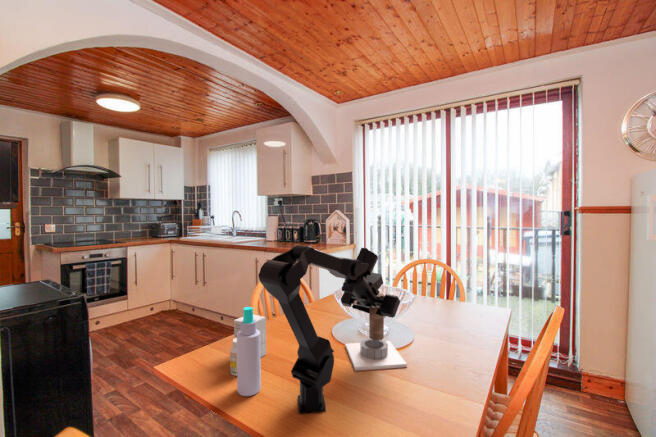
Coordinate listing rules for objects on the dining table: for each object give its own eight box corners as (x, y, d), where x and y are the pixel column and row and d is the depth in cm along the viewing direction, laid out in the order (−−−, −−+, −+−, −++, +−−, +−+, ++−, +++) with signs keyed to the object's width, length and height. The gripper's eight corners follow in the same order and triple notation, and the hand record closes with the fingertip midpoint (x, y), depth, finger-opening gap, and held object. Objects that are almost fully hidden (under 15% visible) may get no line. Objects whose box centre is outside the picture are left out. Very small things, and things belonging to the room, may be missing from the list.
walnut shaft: (386, 337, 99) (386, 294, 98) (376, 341, 96) (376, 297, 95) (376, 333, 102) (376, 291, 102) (366, 336, 100) (366, 294, 99)
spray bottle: (261, 382, 85) (260, 304, 84) (259, 396, 79) (259, 311, 78) (239, 384, 84) (238, 305, 83) (235, 398, 78) (234, 312, 77)
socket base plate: (406, 367, 93) (406, 354, 93) (355, 370, 91) (355, 357, 91) (389, 343, 109) (389, 332, 109) (345, 346, 107) (345, 335, 107)
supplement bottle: (228, 376, 88) (227, 343, 87) (232, 367, 93) (232, 336, 93) (247, 375, 88) (247, 343, 88) (250, 366, 93) (250, 335, 93)
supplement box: (250, 349, 105) (250, 312, 104) (266, 354, 101) (266, 316, 100) (233, 358, 99) (233, 319, 98) (250, 364, 95) (249, 324, 94)
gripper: (397, 269, 89) (413, 298, 98) (346, 262, 101) (363, 289, 110) (384, 302, 83) (402, 330, 92) (331, 291, 95) (351, 316, 104)
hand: (378, 314), depth 100 cm, fingers closed on walnut shaft, 5 cm apart
